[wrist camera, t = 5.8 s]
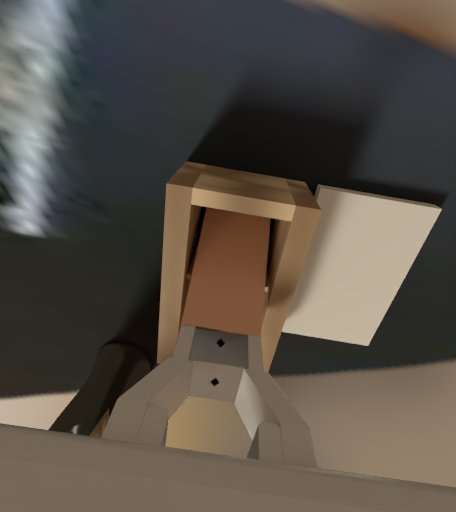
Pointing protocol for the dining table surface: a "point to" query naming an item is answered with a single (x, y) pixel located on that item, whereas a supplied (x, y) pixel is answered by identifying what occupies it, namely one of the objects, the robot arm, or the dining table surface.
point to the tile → (229, 273)
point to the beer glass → (103, 389)
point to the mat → (356, 263)
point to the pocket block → (243, 201)
